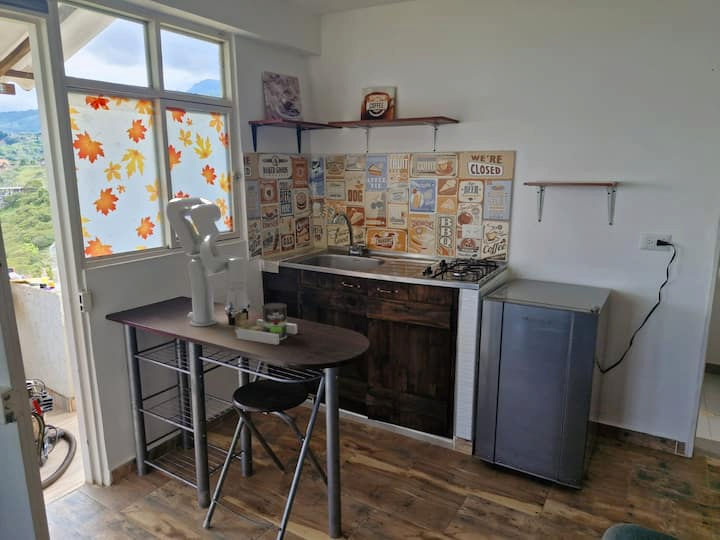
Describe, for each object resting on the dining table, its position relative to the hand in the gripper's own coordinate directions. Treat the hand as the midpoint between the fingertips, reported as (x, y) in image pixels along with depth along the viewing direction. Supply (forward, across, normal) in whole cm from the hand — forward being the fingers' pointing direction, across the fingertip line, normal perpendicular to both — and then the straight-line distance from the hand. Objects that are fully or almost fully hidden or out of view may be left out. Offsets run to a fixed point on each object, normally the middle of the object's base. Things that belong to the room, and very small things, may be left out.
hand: (238, 322), depth 222 cm
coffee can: (+4, 0, +19) cm, 20 cm away
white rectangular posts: (+4, 0, +15) cm, 16 cm away
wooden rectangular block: (+4, 0, +5) cm, 7 cm away
